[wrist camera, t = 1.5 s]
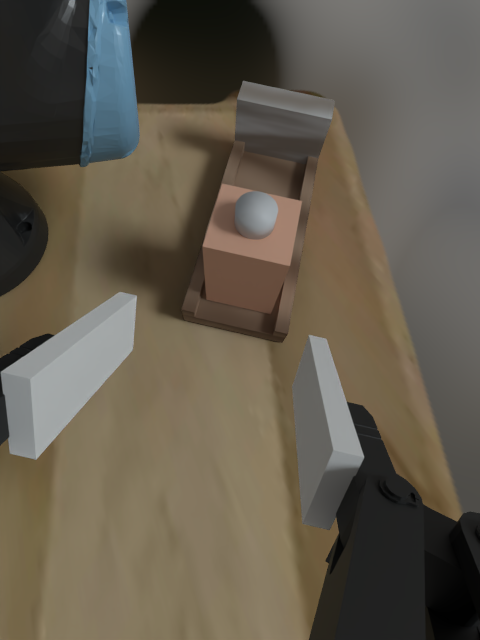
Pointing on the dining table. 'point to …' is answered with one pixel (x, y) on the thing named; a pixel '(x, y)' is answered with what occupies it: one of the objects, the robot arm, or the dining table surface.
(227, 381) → the dining table surface
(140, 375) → the dining table surface
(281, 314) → the track
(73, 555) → the dining table surface
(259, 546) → the dining table surface
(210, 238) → the block
